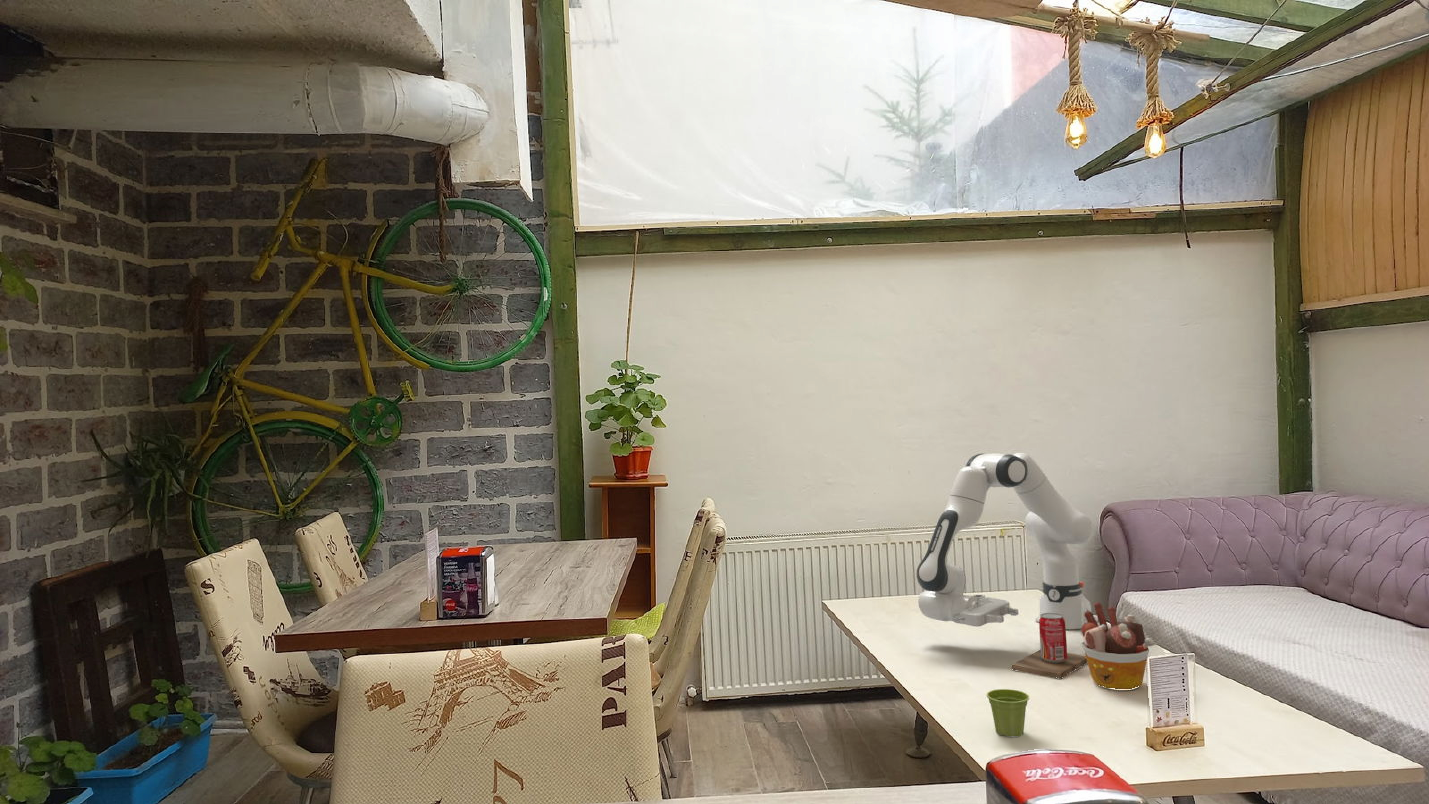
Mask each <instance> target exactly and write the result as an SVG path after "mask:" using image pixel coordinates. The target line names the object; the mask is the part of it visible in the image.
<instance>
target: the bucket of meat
mask: <svg viewBox="0 0 1429 804" xmlns="http://www.w3.org/2000/svg"><path fill="white" fill-rule="evenodd" d="M1102 605H1103V604H1101V603H1100V602H1099V601H1098V602H1095V603H1094V606H1093V607H1094V609H1095V613H1096V614H1095V615H1096V616H1097V617H1098V621H1097V622H1096V620H1095V618H1094V616H1093V615H1094V614H1093V612H1092V611H1091V612H1090V611H1086V612H1085V617H1086V619H1087V621H1088V622H1087V623H1084V624H1083V626H1082V629H1081V635H1082V637H1083V638H1084V639H1083V641H1082V642H1081V646H1082V648H1083V652H1084V656H1086V659H1087V662H1088V663H1087V667H1088V669H1089V673H1090V676H1091V679H1092V680H1093V682H1094V683H1095V684H1096V685H1097V686H1098V685H1100V686H1104V687H1106V688H1115V689H1132V688H1135V687H1138V686H1140V687H1141V686H1142V685H1143V682H1144V677H1145V671H1146V667H1147V662H1148V661H1147V660H1148V656H1149V654H1150V652H1149V651H1150V650H1149V647H1153V646H1155V645H1156V643H1155V640H1153V639H1152V638H1149V637H1146V638H1145V631H1144V627H1143V624H1141V623H1137V622H1134V620H1135V619H1136V617H1135V615H1134V614H1127V616H1124V617H1123V621H1119V622H1118V619H1117V613H1116V609H1115V608H1114V607H1113V606H1109V607H1108V608H1107V613H1108V618H1109V624H1110V628H1109V627H1108V624H1107V620H1106V617H1105V613H1104V609H1103V606H1102ZM1098 623H1099V625H1098ZM1146 661H1147V662H1146ZM1100 686H1099V687H1100ZM1106 688H1105V689H1106Z"/></svg>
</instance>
